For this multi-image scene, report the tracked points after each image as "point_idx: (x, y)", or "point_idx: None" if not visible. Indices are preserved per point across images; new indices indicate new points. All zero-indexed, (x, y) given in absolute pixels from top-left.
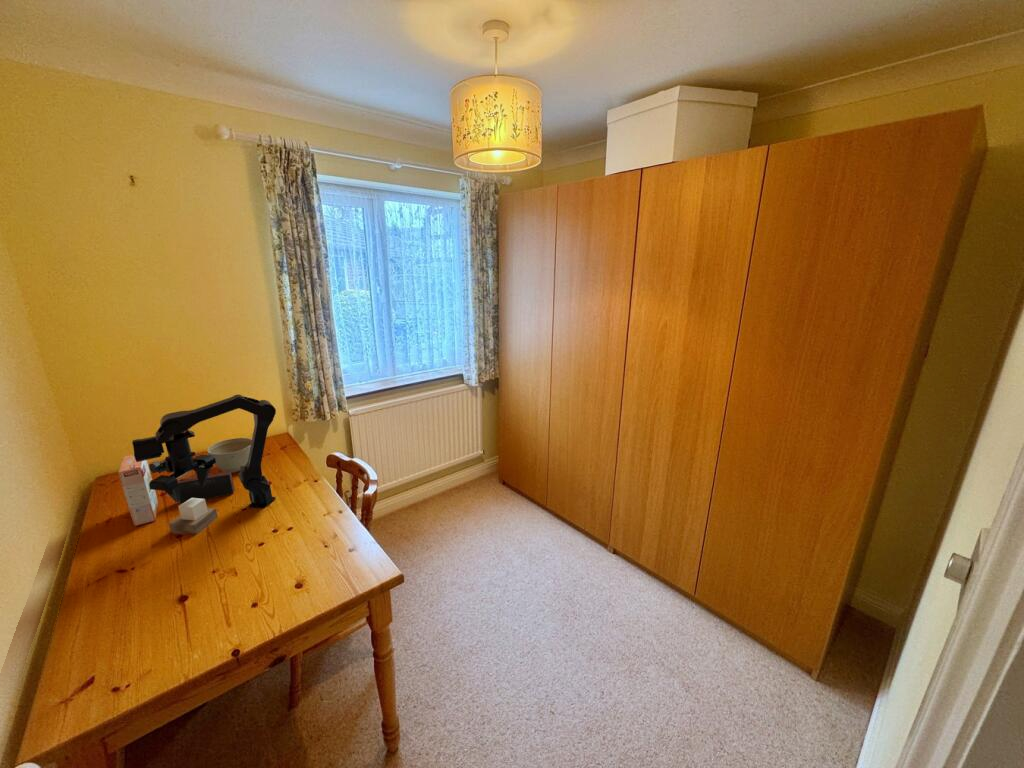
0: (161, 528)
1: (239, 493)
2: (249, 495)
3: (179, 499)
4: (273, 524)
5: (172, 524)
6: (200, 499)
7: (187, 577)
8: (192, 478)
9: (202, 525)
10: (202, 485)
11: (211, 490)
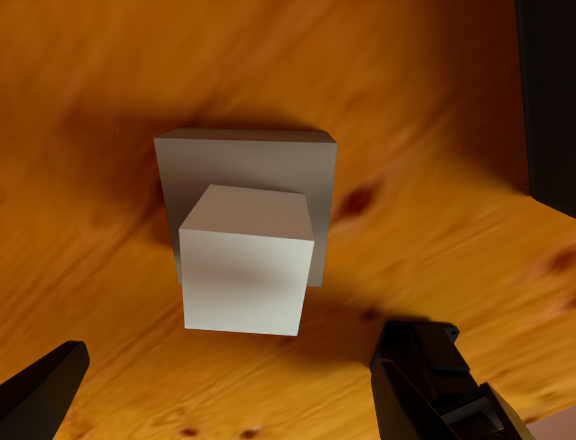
0: (204, 24)
1: (524, 224)
2: (426, 356)
3: (66, 403)
4: (277, 421)
5: (159, 163)
6: (289, 315)
7: (12, 360)
8: None
9: None
10: (377, 395)
11: (572, 109)
